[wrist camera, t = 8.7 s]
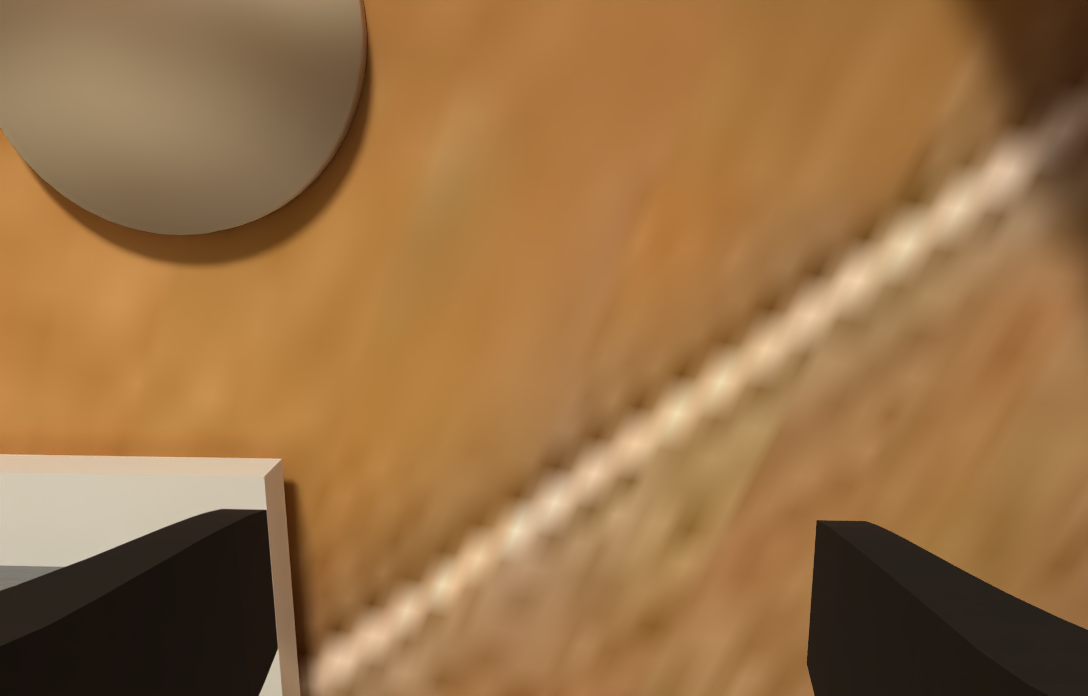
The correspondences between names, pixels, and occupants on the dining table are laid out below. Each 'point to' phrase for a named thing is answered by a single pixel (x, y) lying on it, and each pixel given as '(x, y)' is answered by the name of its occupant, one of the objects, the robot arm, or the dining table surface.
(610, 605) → the dining table surface
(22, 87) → the metal coaster
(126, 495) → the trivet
